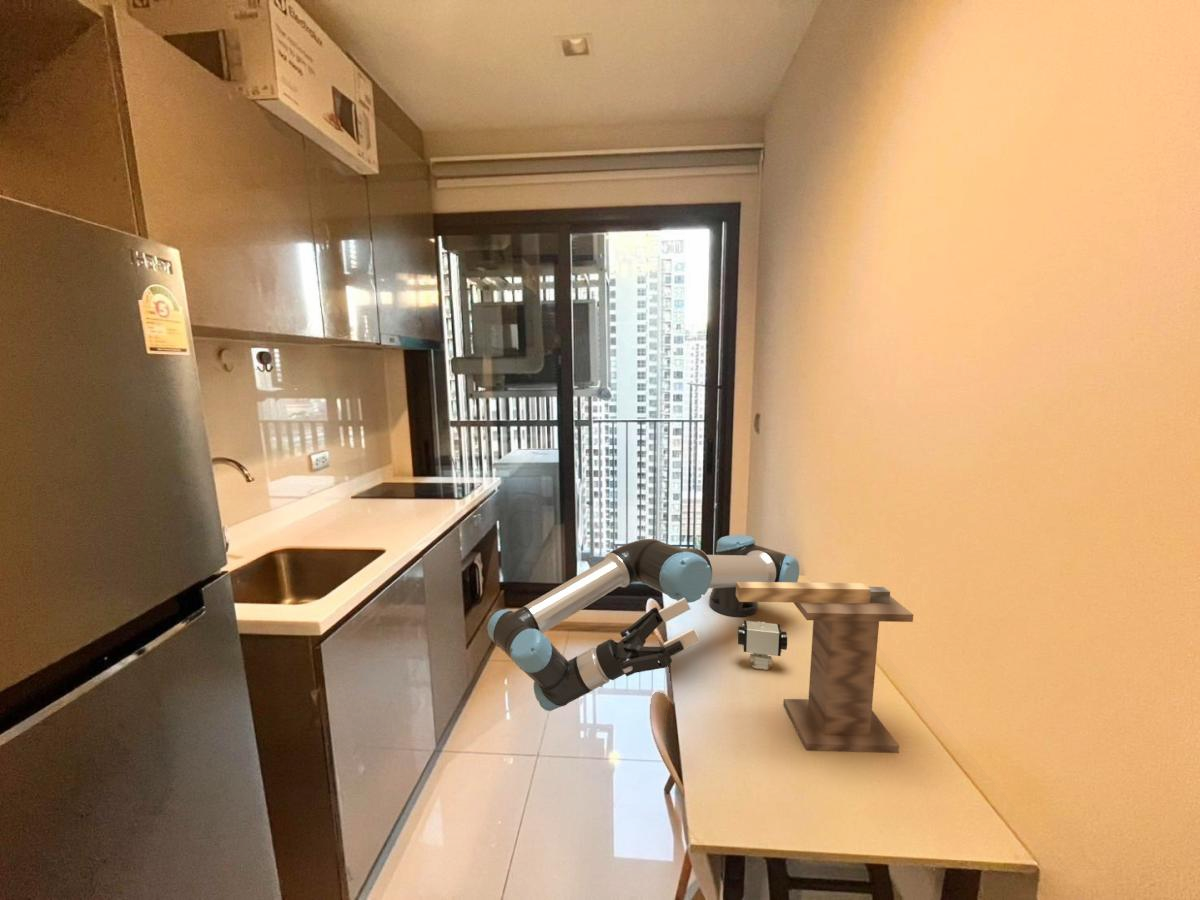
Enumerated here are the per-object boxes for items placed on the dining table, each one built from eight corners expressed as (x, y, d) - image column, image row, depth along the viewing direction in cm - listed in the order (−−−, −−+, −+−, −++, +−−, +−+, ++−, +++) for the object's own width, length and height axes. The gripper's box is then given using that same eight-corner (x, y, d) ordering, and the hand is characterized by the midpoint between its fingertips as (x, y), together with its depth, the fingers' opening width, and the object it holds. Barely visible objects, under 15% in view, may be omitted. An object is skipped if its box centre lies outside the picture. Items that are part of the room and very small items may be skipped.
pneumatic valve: (785, 674, 125) (788, 629, 124) (737, 668, 128) (738, 624, 126) (783, 662, 131) (785, 619, 129) (736, 656, 133) (738, 614, 132)
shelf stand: (801, 750, 100) (809, 615, 96) (778, 704, 114) (785, 585, 110) (903, 752, 99) (916, 617, 95) (868, 706, 113) (878, 586, 109)
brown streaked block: (739, 601, 102) (739, 587, 101) (735, 595, 105) (736, 581, 104) (890, 603, 101) (891, 589, 100) (882, 597, 104) (883, 583, 103)
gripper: (613, 646, 119) (692, 605, 117) (610, 717, 94) (711, 667, 92) (597, 620, 118) (676, 578, 116) (590, 685, 94) (691, 633, 91)
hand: (692, 617), depth 104 cm, fingers open, 13 cm apart
